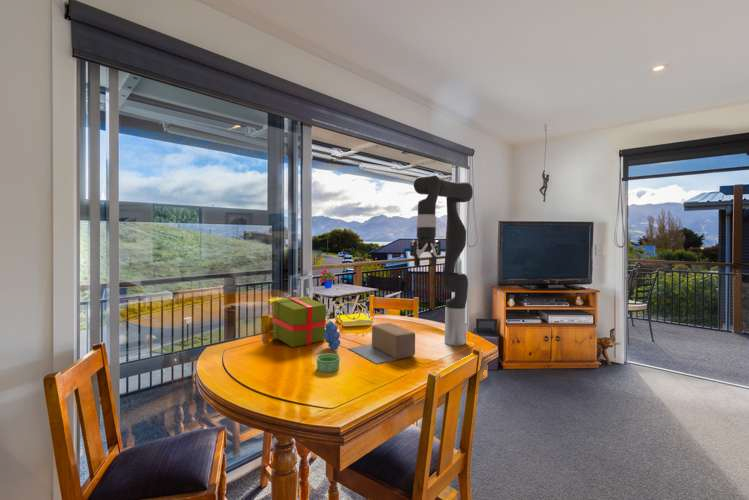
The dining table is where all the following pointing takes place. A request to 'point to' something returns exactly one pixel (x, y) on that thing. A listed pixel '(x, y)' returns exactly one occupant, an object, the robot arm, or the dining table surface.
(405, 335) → the block
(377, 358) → the mat
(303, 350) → the dining table surface
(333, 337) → the grapes
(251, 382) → the dining table surface
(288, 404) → the dining table surface
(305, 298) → the gift box
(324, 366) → the ramekin
